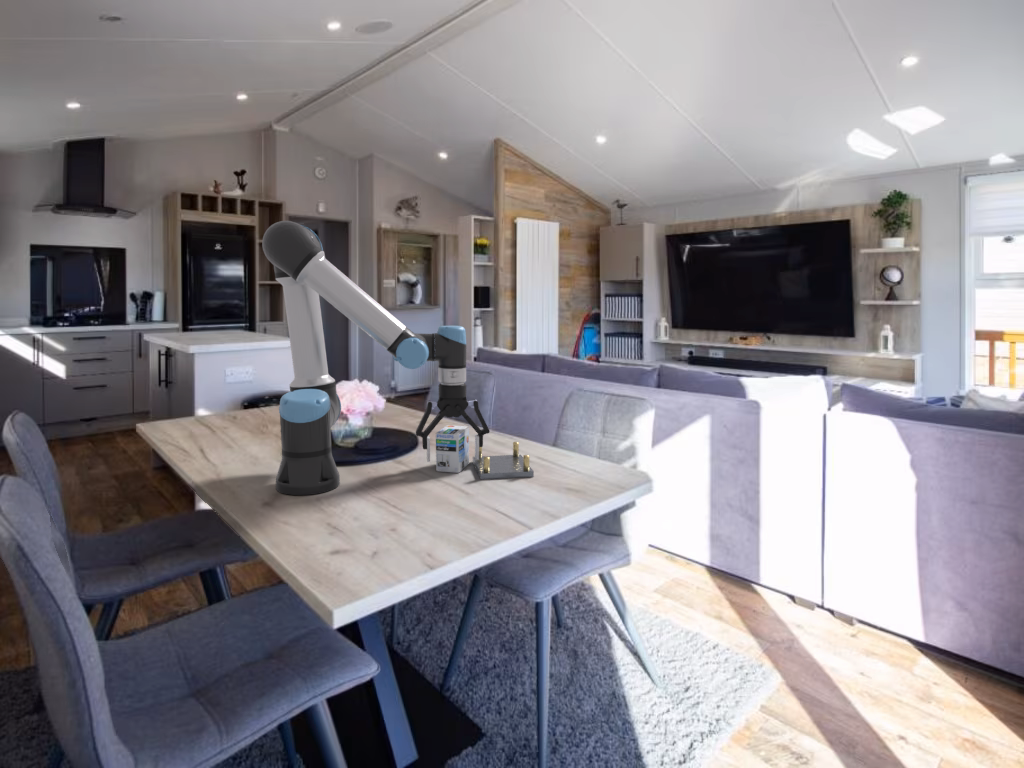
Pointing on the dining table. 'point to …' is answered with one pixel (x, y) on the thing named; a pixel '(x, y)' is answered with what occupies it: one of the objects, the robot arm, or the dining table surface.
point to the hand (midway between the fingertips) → (452, 459)
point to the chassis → (503, 465)
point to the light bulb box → (452, 448)
